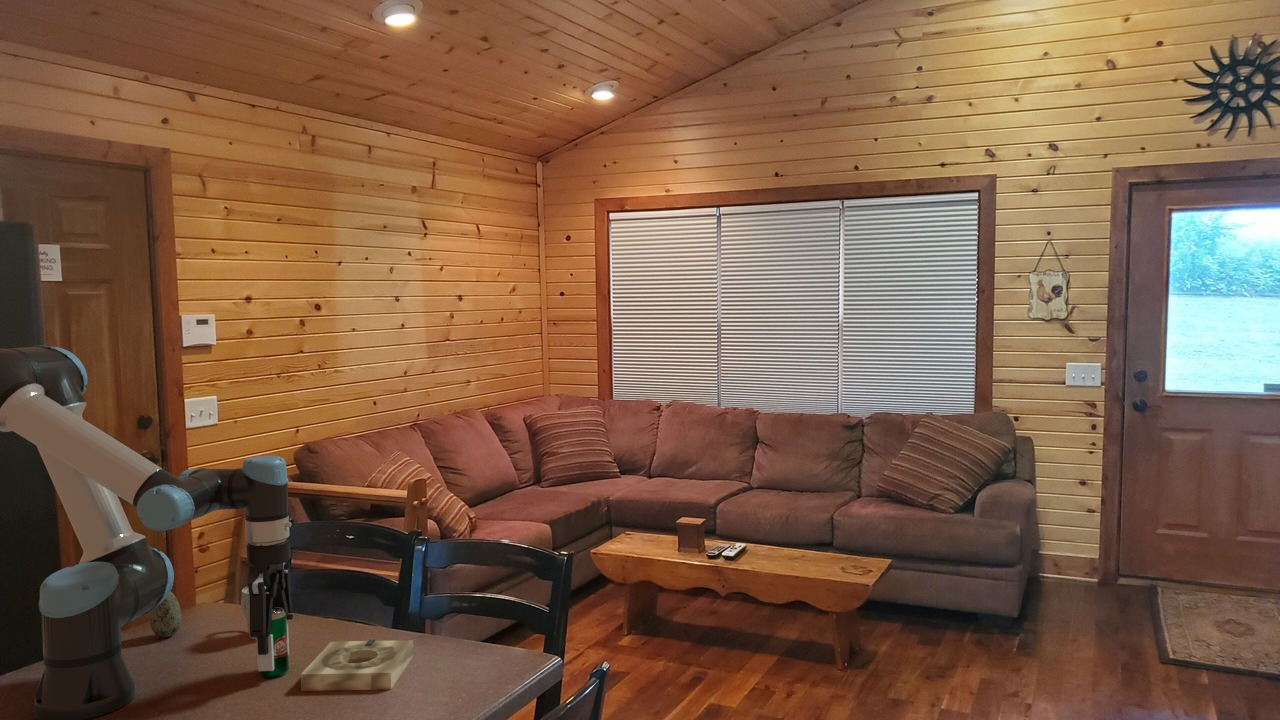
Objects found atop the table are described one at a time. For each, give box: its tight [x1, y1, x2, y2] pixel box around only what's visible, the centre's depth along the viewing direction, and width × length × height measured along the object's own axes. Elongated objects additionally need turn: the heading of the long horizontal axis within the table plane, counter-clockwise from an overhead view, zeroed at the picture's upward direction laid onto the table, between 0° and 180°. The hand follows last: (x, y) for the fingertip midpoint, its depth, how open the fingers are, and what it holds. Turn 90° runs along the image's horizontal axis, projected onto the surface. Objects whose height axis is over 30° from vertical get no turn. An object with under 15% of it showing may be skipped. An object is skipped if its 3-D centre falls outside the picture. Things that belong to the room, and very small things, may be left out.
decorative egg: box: [149, 591, 183, 638], centre depth 194 cm, size 6×6×10 cm
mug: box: [240, 585, 269, 641], centre depth 195 cm, size 8×13×10 cm, turn 57°
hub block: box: [300, 639, 415, 692], centre depth 173 cm, size 16×16×3 cm
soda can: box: [259, 607, 290, 679], centre depth 173 cm, size 5×5×12 cm
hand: (273, 662), depth 173 cm, fingers open, 6 cm apart
